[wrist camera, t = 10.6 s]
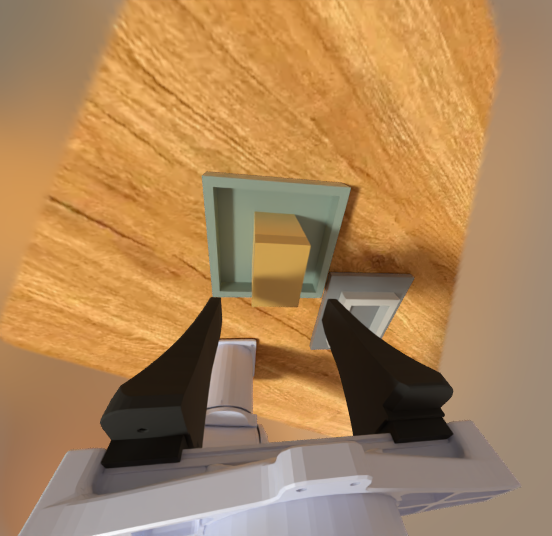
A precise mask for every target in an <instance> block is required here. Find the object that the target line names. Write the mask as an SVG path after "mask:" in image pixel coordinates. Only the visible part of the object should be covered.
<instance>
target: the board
mask: <svg viewBox="0 0 552 536" xmlns="http://www.w3.org/2000/svg"><path fill="white" fill-rule="evenodd" d="M414 278H415V277H413V276H412V275H411V274H387V273H348V272H329V276H328V280H327V283H326V287H325V291H324V294H323V298H322V302H321V305H320V309H319V313H318V316H317V320H316V324H315V327H314V331H313V334H312V338H311V342H310V349H311V350H317V349H330V346H329V344H328V341H327V338H326V336H325V332H324V328H323V324H322V317H323V314H324V310H325V307H326V303H327V300H328V299H337V300H338V301H339V302H340V303H341V304H342V305H343V306H344V307H345V308H346V309H347V310H348V311H349V312H351V313H352V314H353V315H354V316H355V317H356V318H357V319H358V320H359V321H360V322H361V323H362V324H363V325H365V326H366V327H367V328H368V329H369V330H371V331H372V332H373V333H374V334H376V335H377V336H378V337H380V338H381V339H382V337H383V335H384V333H385V331H386V329H387V328H388V326H389V324H390V322H391V320H392V318H393V317H394V315H395V313H396V311H397V309H398V307H399V306H400V304H401V302H402V300H403V298H404V296H405V295H406V293H407V291H408V289H409V287H410V285H411V284H412V282H413V280H414Z"/></svg>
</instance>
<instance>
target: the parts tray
mask: <svg viewBox="0 0 552 536" xmlns="http://www.w3.org/2000/svg"><path fill="white" fill-rule="evenodd" d="M202 183H203V194H204V205H205V216H206V227H207V239H208V250H209V261H210V272H211V283H212V294H213V297H252V254H253V233H254V212H269V213H283V214H295V216H296V218H297V220H298V222H299V224H300V226H301V228H302V230H303V232H304V233H305V235H306V237H307V239H308V241H309V243H310V245H311V247H310V252H309V257H308V261H307V266H306V271H305V275H304V280H303V285H302V290H301V294H300V298H321V297H322V294H323V290H324V286H325V282H326V279H327V275H328V271H329V268H330V264H331V260H332V257H333V253H334V249H335V245H336V242H337V238H338V234H339V231H340V227H341V223H342V220H343V216H344V212H345V208H346V205H347V201H348V197H349V194H350V190H351V187H349V186H347V185H345V184H343V183H339V182H327V181H315V180H303V179H291V178H279V177H267V176H256V175H244V174H232V173H220V172H208V171H207V172H206V173H204V174H203V175H202Z"/></svg>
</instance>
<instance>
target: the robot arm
mask: <svg viewBox="0 0 552 536" xmlns="http://www.w3.org/2000/svg"><path fill="white" fill-rule="evenodd" d="M322 324H323V328H324V332H325V336H326V338H327V341H328V344H329V346H330V349H331V351H332V354H333V357H334V359H335V362H336V365H337V368H338V371H339V374H340V378H341V382H342V386H343V390H344V394H345V398H346V402H347V407H348V411H349V416H350V421H351V426H352V431H353V436H347V437H335V438H322V439H310V440H297V441H285V442H271V443H269V442H268V436H267V433H266V431H265V430H264V428H263V426H262V425H261V424H257V415H256V414H253V377H254V372H255V356H256V340H255V339H231V340H219V339H220V334H221V326H222V308H221V297H211V298H210V299H209V300H208V302H207V304H206V305H205V307H204V308H203V310H202V311H201V313H200V314H199V315H198V317H197V318H196V319H195V321H194V322H193V323H192V324H191V326H190V327H189V328H188V329H187V330H186V332H185V333H184V334H183V335H182V336H181V337H180V338H179V339H178V340H177V341H176V342H175V343H174V344H173V345H172V346H171V347H170V348H169V349H168V350H167V351H166V352H165V353H164V354H162V355H161V356H160V357H159V358H158V359H156V360H155V361H154V362H153V363H151V364H150V365H149V366H148V367H146V368H145V369H144V370H143V371H141V372H140V373H138V374H137V375H136V376H134V377H133V378H131V379H130V380H128V381H127V382H126V383H124V384H122V385H121V386H120V387H119V389H118V390H117V392H116V393H115V395H114V396H113V398H112V399H111V401H110V403H109V405H108V407H107V409H106V410H105V412H104V414H103V416H102V418H101V421H100V424H101V426H102V429H103V430H104V431H105V432H106V434H107V435H108V436H109V437H110V439H111V442H110V444H109V446H108V448H107V450H106V449H104V448H87V449H73V450H69V451H68V452H67V453H66V455H65V456H64V458H63V460H62V462H61V463H60V465H59V467H58V468H57V470H56V472H55V473H54V475H53V477H52V479H51V480H50V482H49V484H48V486H47V487H46V489H45V491H44V492H43V494H42V496H41V498H40V499H39V501H38V503H37V504H36V506H35V508H34V509H33V511H32V513H31V515H30V516H29V518H28V520H27V521H26V523H25V525H24V527H23V528H22V530H21V532H20V533H19V535H18V536H408V533H407V531H406V529H405V526H404V523H403V521H402V518H401V516H405V515H410V514H416V513H421V512H426V511H431V510H437V509H442V508H448V507H453V506H459V505H465V504H472V503H479V502H485V501H488V500H490V499H493V498H495V497H498V496H500V495H503V494H505V493H508V492H510V491H513V490H515V489H518V488H520V487H521V484H520V483H519V482H518V480H517V479H516V478H515V476H514V475H513V474H512V472H511V471H510V470H509V469H508V467H507V466H506V465H505V463H504V462H503V461H502V459H501V458H500V457H499V455H498V454H497V453H496V452H495V450H494V449H493V448H492V446H491V445H490V444H489V443H488V441H487V440H486V439H485V437H484V436H483V435H482V433H481V432H480V431H479V429H478V428H477V427H476V426H475V424H474V423H473V422H472V421H471V420H465V421H453V422H449V423H446V422H445V421H444V419H443V418H442V417H444V416H445V414H444V412H443V411H442V410H441V407H442V406H443V405H444V404H445V403H446V402H447V401H448V400H449V399H450V398H451V397H452V394H453V389H452V387H451V386H450V385H449V383H448V382H447V381H446V380H445V378H444V377H443V376H442V375H441V373H439V372H437V371H435V370H433V369H431V368H429V367H427V366H425V365H423V364H421V363H419V362H417V361H416V360H414V359H412V358H410V357H408V356H407V355H405V354H403V353H402V352H400V351H398V350H397V349H395V348H394V347H392V346H391V345H389V344H388V343H386V342H385V341H384V340H382V339H381V338H380V337H378V336H377V335H376V334H374V333H373V332H372V331H371V330H369V329H368V328H367V327H366V326H365V325H363V324H362V323H361V322H360V321H359V320H358V319H357V318H356V317H355V316H354V315H353V314H352V313H351V312H349V311H348V310H347V309H346V308H345V307H344V306H343V305H342V304H341V303H340V302H339V301H338V300H337V299H328V300H327V303H326V307H325V310H324V314H323V317H322Z"/></svg>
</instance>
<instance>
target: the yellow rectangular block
mask: <svg viewBox="0 0 552 536" xmlns="http://www.w3.org/2000/svg"><path fill="white" fill-rule="evenodd" d="M310 247H311V245H310V243H309V241H308V239H307V237H306V235H305V233H304V232H303V230H302V228H301V226H300V224H299V222H298V220H297V218H296V216H295V214H283V213H269V212H254V233H253V254H252V307H298V304H299V299H300V294H301V290H302V285H303V280H304V275H305V271H306V266H307V261H308V257H309V252H310Z"/></svg>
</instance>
